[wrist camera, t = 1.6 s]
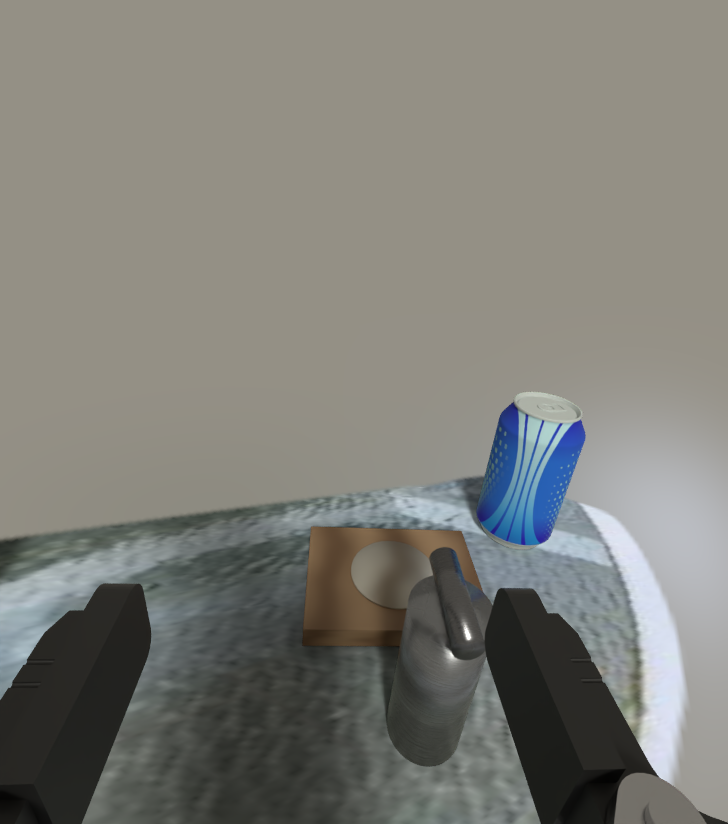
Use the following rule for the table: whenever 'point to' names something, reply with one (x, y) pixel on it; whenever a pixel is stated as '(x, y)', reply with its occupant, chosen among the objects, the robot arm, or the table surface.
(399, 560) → the block
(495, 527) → the beer can
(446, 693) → the grey cylinder
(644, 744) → the table surface
